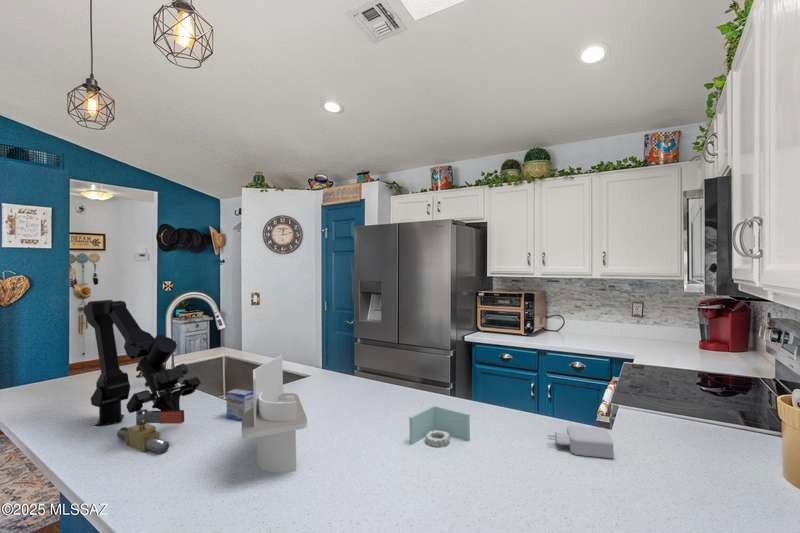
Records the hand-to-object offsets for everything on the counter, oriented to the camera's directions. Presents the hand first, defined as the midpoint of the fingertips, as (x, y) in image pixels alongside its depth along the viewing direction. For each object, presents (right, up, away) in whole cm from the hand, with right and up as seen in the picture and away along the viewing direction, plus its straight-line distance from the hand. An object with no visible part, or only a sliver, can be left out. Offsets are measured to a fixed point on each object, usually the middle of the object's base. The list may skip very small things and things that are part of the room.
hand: (178, 418), depth 111 cm
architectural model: (+30, -7, -8) cm, 32 cm away
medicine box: (+10, -7, +18) cm, 22 cm away
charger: (+109, -6, -7) cm, 110 cm away
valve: (-9, -7, -1) cm, 12 cm away
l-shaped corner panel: (+73, -6, -2) cm, 74 cm away
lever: (-4, -1, -2) cm, 5 cm away
